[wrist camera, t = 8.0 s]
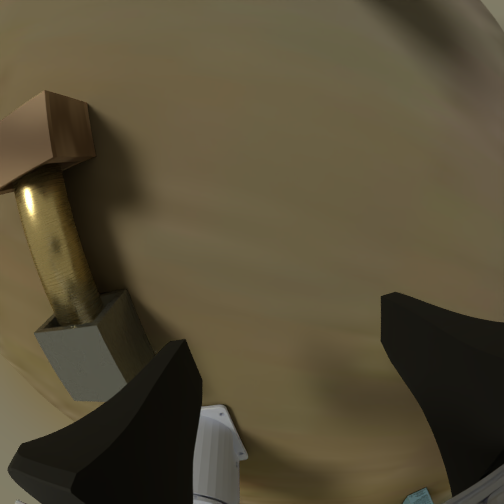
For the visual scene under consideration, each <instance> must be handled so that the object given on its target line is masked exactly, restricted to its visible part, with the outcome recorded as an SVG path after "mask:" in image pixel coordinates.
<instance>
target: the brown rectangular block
mask: <svg viewBox="0 0 504 504" xmlns="http://www.w3.org/2000/svg"><path fill="white" fill-rule="evenodd" d="M93 157H96V152H95V147H94V142H93V137H92V131H91V125H90V119H89V113H88V106H87V103H86V102H83V101H79V100H76V99H73V98H70V97H67V96H63V95H60V94H56V93H53V92H49V91H46V90H44V91H42V92H41V93H39V94H38V95H36V96H34V97H33V98H31V99H30V100H28V101H27V102H25V103H24V104H23V105H21V106H20V107H18V108H17V109H15V110H14V111H13V112H11V113H10V114H9V115H7V116H6V117H5V118H3V119H2V120H1V121H0V195H1V194H5V193H10V192H14V188H13V183H12V182H13V181H14V180H16V179H18V178H19V177H21V176H23V175H25V174H26V173H28V172H30V171H32V170H33V169H35V168H37V167H39V166H41V165H43V164H47V163H60V164H61V169H62V171H64V170H66V169H68V168H70V167H72V166H75V165H77V164H79V163H81V162H84V161H86V160H89V159H91V158H93Z"/></svg>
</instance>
